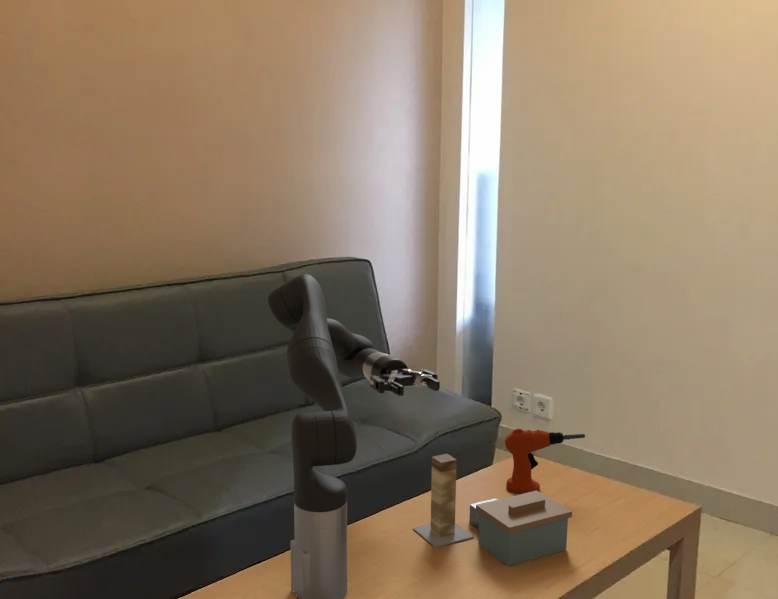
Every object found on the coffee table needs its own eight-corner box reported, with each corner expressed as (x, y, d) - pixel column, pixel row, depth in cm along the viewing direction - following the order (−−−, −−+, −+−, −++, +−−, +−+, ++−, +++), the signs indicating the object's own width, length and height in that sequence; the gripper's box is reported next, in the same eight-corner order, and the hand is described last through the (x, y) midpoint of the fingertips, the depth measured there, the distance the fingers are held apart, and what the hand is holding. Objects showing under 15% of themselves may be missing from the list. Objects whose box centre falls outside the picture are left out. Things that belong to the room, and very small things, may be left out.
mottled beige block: (439, 537, 167) (441, 462, 164) (430, 530, 170) (431, 456, 167) (454, 533, 169) (456, 459, 166) (445, 526, 172) (447, 453, 169)
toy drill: (590, 489, 188) (585, 427, 185) (507, 496, 190) (501, 434, 187) (587, 481, 193) (582, 419, 190) (506, 487, 195) (500, 426, 192)
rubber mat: (435, 547, 164) (435, 546, 164) (412, 529, 171) (412, 527, 171) (473, 537, 168) (473, 536, 168) (449, 520, 176) (449, 518, 176)
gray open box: (487, 535, 169) (488, 516, 168) (469, 522, 175) (469, 504, 174) (513, 528, 172) (514, 510, 171) (495, 515, 178) (495, 498, 177)
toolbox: (507, 568, 156) (509, 519, 154) (474, 543, 166) (476, 497, 164) (569, 550, 163) (572, 503, 161) (534, 527, 173) (536, 483, 171)
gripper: (356, 358, 184) (390, 375, 170) (412, 351, 190) (449, 367, 176) (356, 391, 185) (390, 410, 171) (412, 383, 192) (449, 401, 178)
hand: (420, 388), depth 174 cm, fingers open, 8 cm apart
